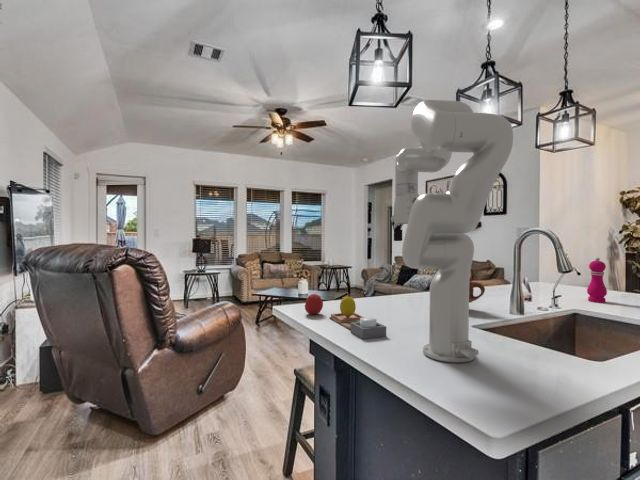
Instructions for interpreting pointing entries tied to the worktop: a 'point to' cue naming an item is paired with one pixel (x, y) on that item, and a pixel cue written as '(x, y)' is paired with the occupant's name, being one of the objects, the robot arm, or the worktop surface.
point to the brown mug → (471, 286)
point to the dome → (367, 322)
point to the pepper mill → (597, 282)
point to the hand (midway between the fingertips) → (406, 241)
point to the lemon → (347, 306)
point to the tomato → (313, 304)
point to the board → (346, 319)
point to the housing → (368, 331)
